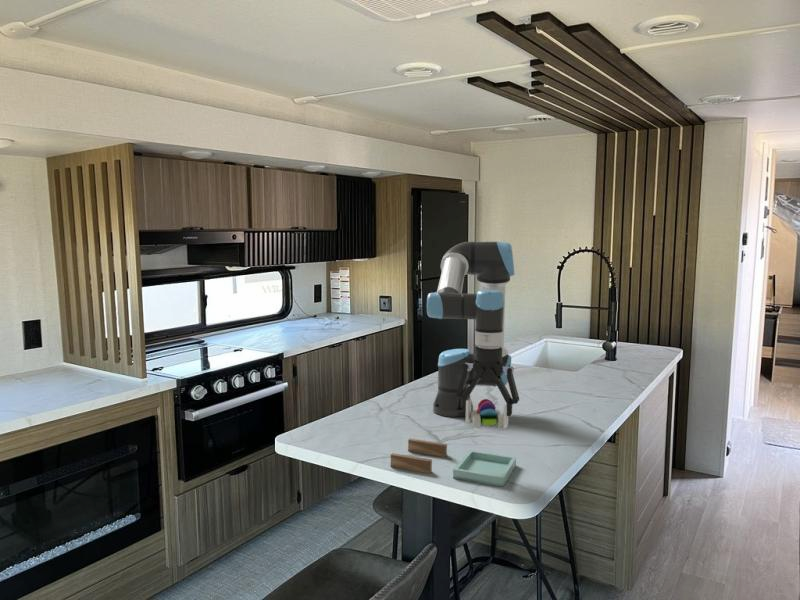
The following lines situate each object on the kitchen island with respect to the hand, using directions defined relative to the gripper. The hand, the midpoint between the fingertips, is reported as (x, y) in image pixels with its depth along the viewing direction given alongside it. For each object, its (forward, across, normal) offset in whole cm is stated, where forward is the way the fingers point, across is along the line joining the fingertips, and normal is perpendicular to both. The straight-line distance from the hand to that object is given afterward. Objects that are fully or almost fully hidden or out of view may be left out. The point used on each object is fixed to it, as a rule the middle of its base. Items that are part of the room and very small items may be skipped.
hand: (486, 424), depth 169 cm
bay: (+14, -20, 0) cm, 24 cm away
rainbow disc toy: (+1, 0, 0) cm, 1 cm away
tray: (+14, 0, 0) cm, 14 cm away
